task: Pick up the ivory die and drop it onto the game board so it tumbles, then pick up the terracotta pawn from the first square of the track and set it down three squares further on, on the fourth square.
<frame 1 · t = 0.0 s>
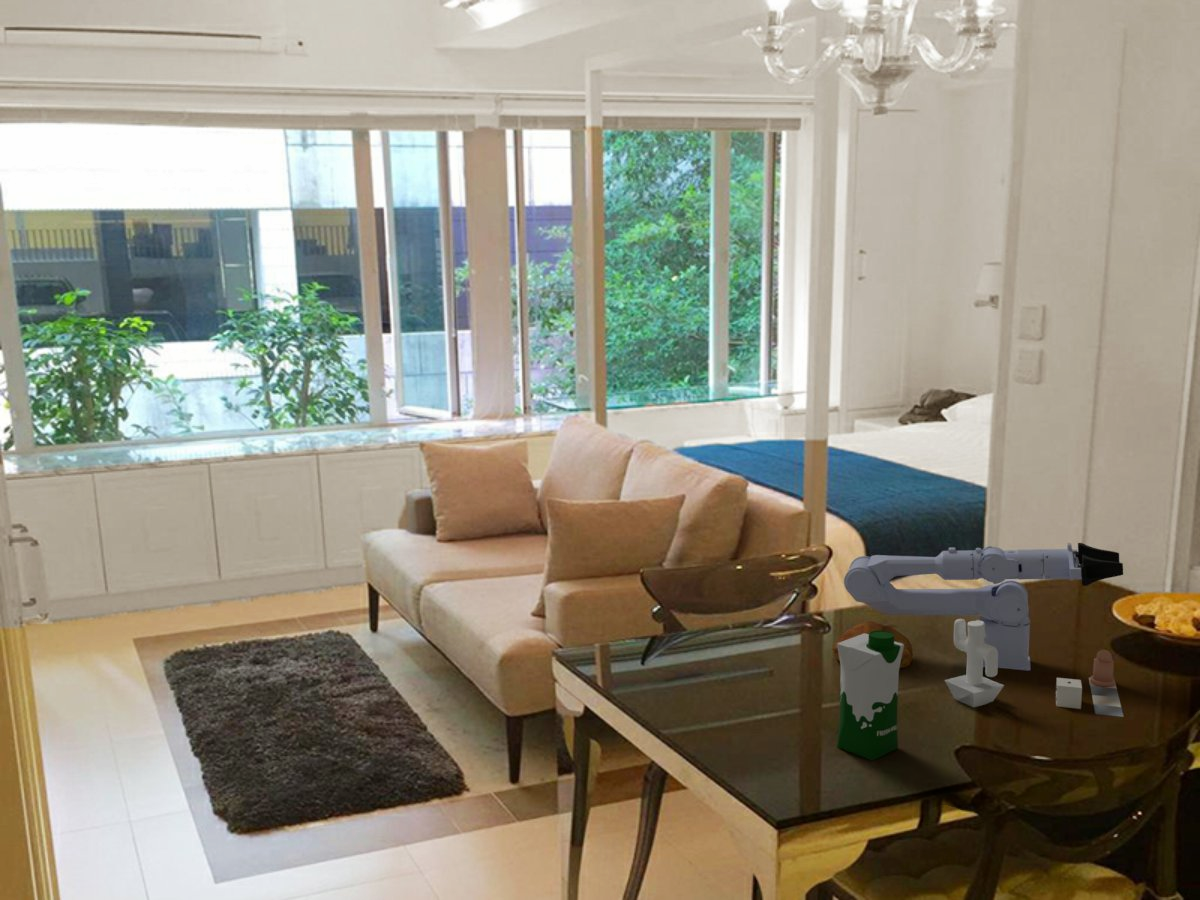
hand: (1121, 563, 220), 22 cm above the table, tool horizontal, fingers open, 7 cm apart
pawn: (1102, 682, 218), resting on board
figurine: (973, 703, 211), on the table
croissant: (870, 661, 233), on the table
board: (1084, 696, 213), on the table
milk carton: (867, 748, 193), on the table
die: (1068, 704, 208), resting on board
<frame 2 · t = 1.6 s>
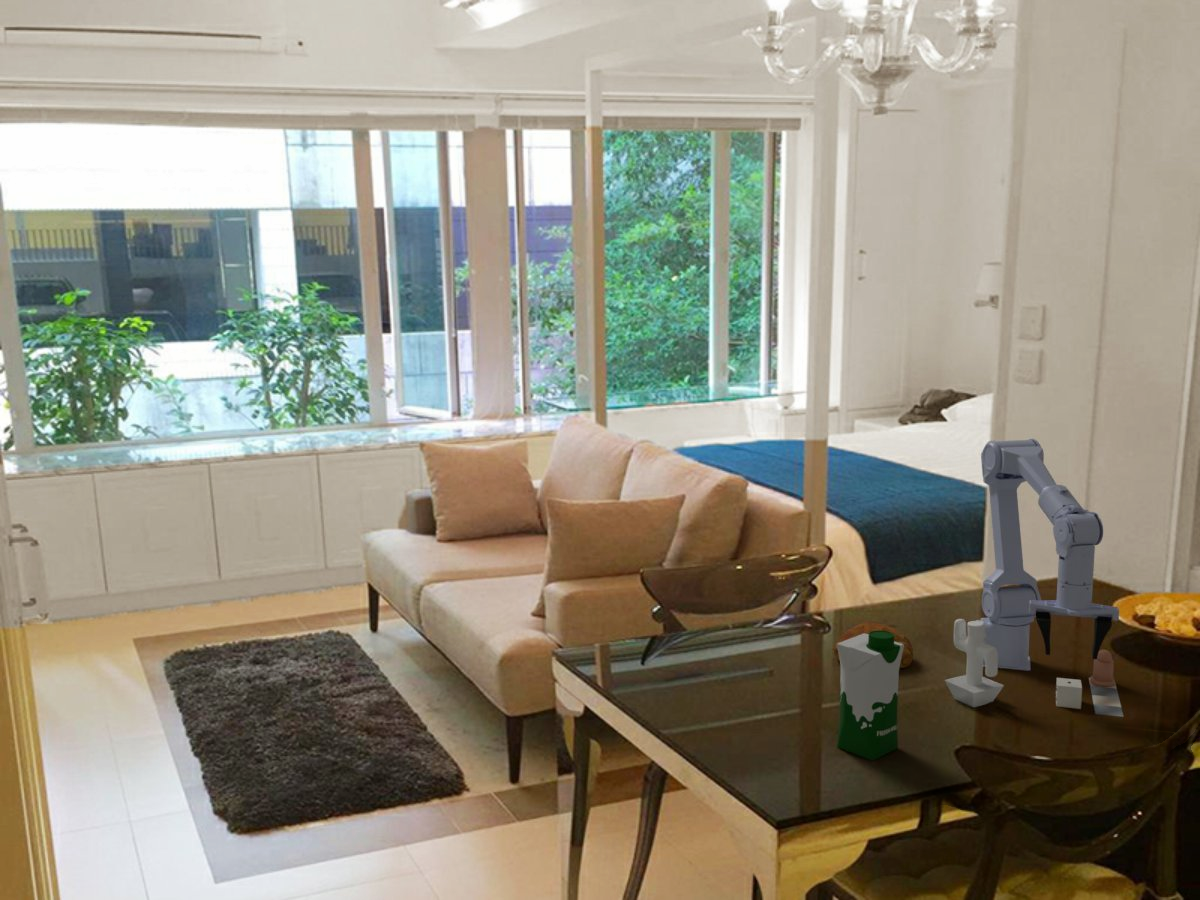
hand: (1070, 655, 207), 9 cm above the table, tool pointing down, fingers open, 7 cm apart
nothing on the table moved.
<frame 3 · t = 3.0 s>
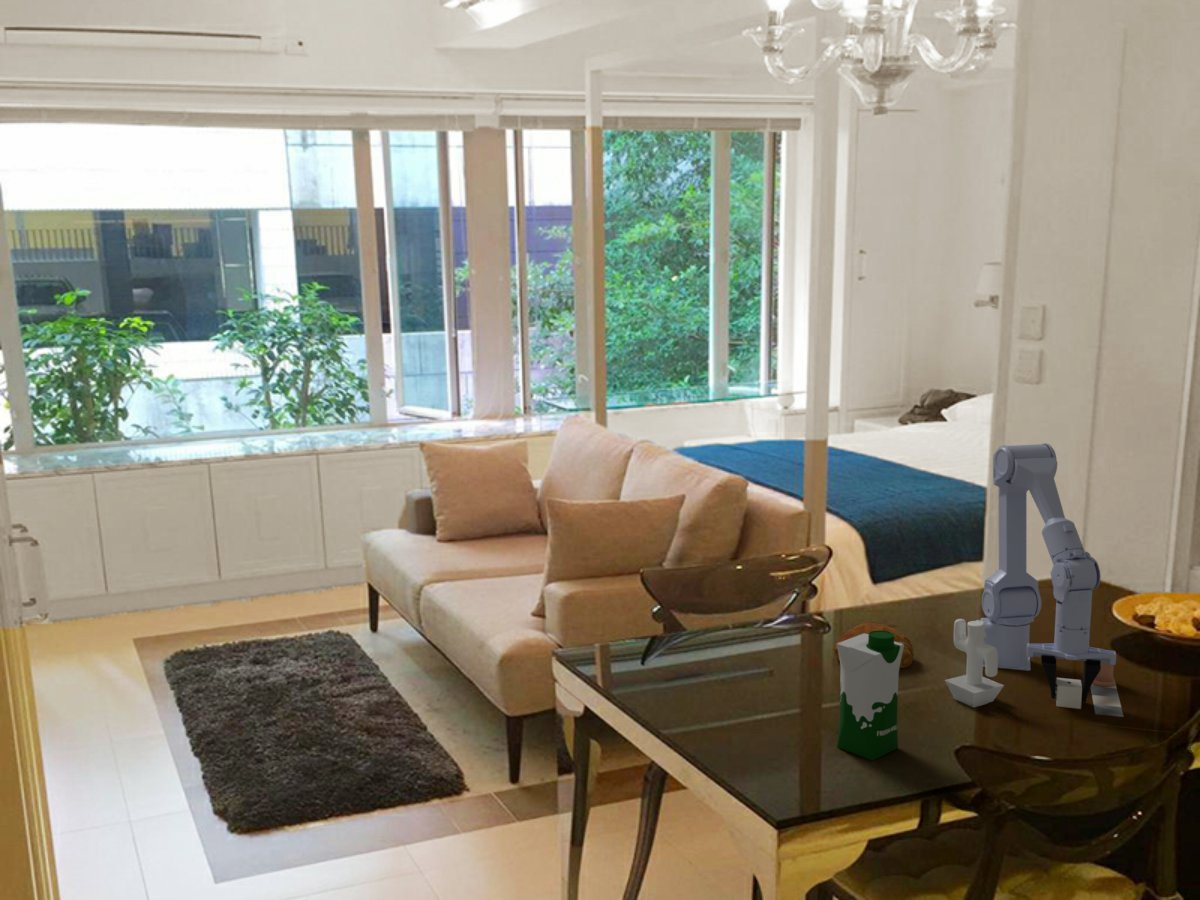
hand: (1068, 698, 208), 1 cm above the table, tool pointing down, fingers closed on die, 4 cm apart
die: (1068, 704, 208), resting on board, touching gripper
everything else where it was.
when the fingers open (8 cm above the table, at t = 4.7 s): die drops 5 cm and tips over, resting on board.
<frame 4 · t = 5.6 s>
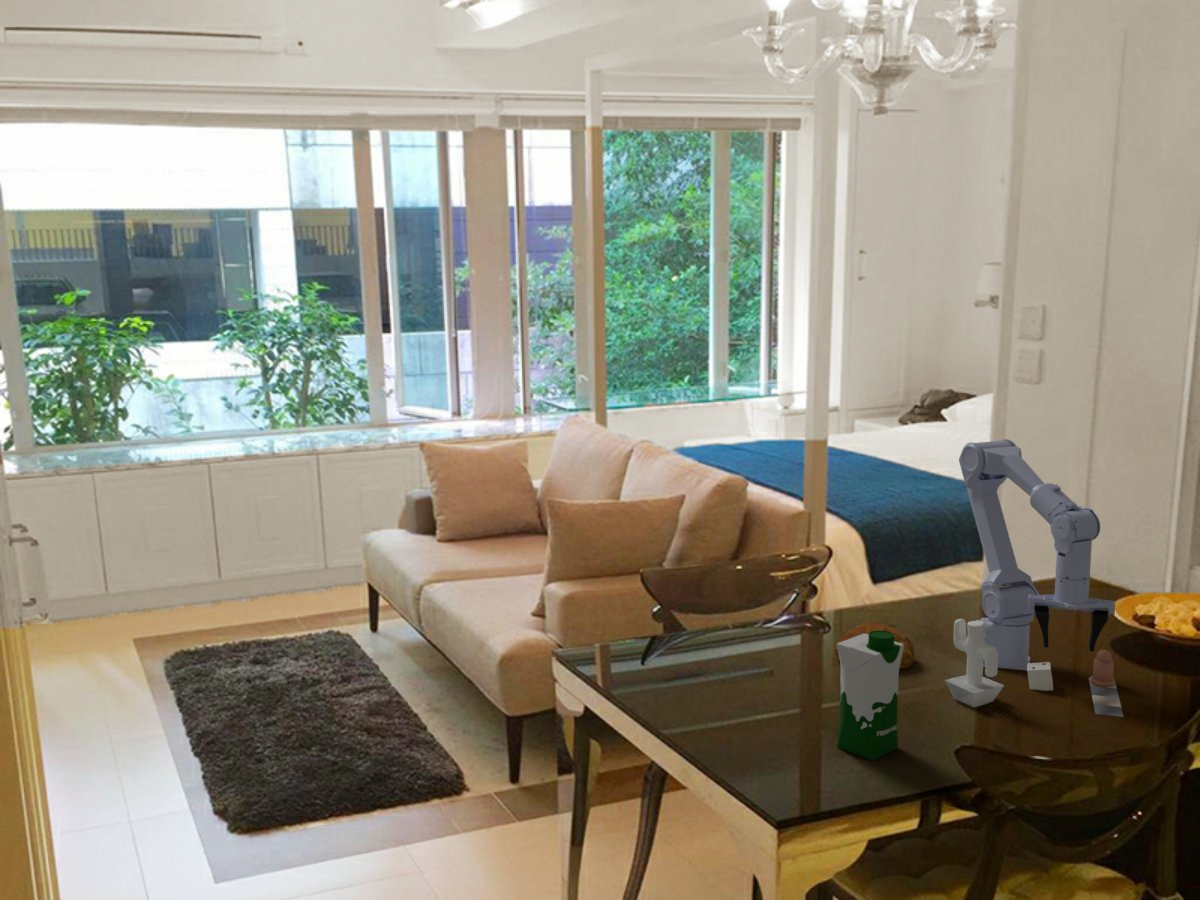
hand: (1068, 647, 214), 8 cm above the table, tool pointing down, fingers open, 7 cm apart
die: (1051, 676, 216), point 3 cm above the table, tilted 100°, touching board
everything else where it was.
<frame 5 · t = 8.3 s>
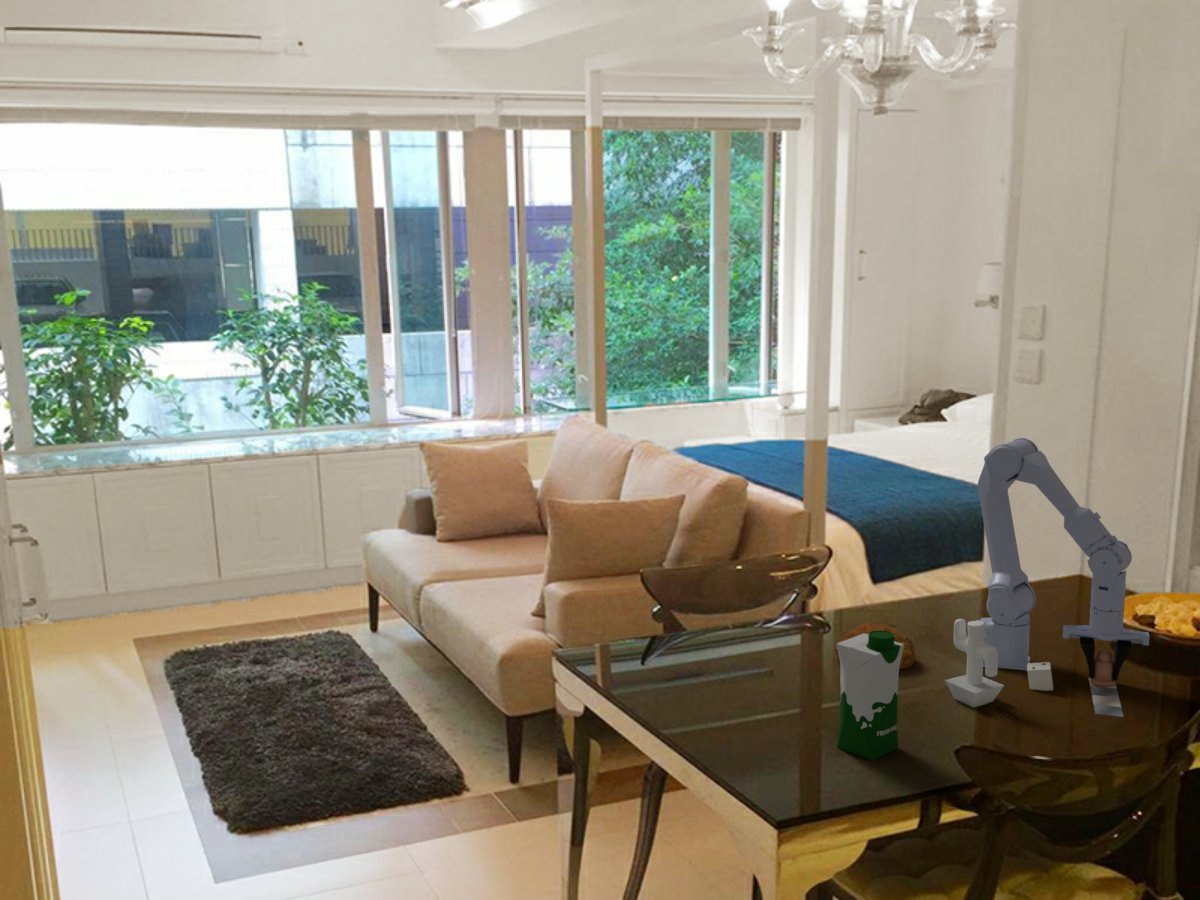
hand: (1102, 677, 217), 2 cm above the table, tool pointing down, fingers closed on pawn, 3 cm apart
pawn: (1102, 682, 218), resting on board, touching gripper
everything else where it was.
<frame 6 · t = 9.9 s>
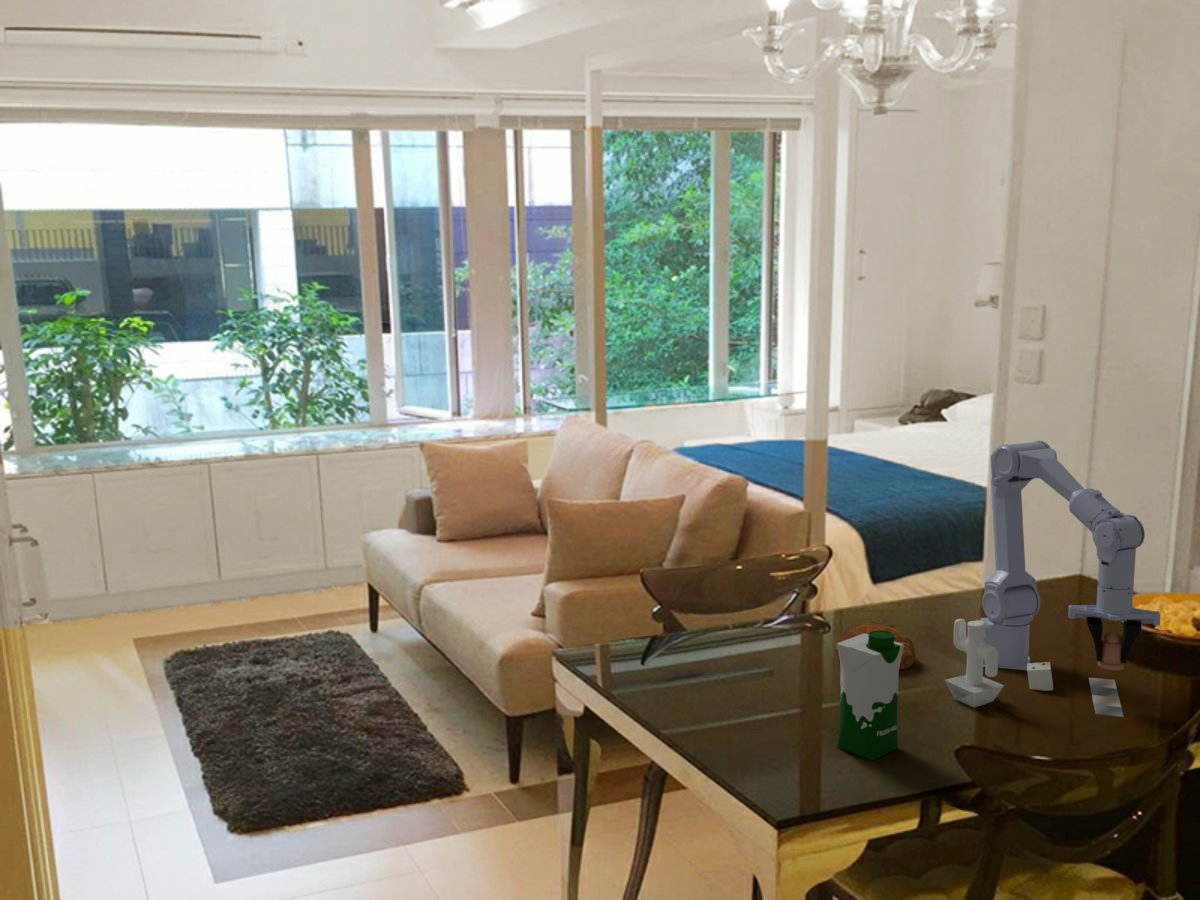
hand: (1110, 660, 205), 9 cm above the table, tool pointing down, fingers closed on pawn, 3 cm apart
pawn: (1110, 666, 206), point 8 cm above the table, touching gripper
everything else where it was.
when the fingers open (3 cm above the table, at t = 11.6 s): pawn drops 1 cm, resting on board.
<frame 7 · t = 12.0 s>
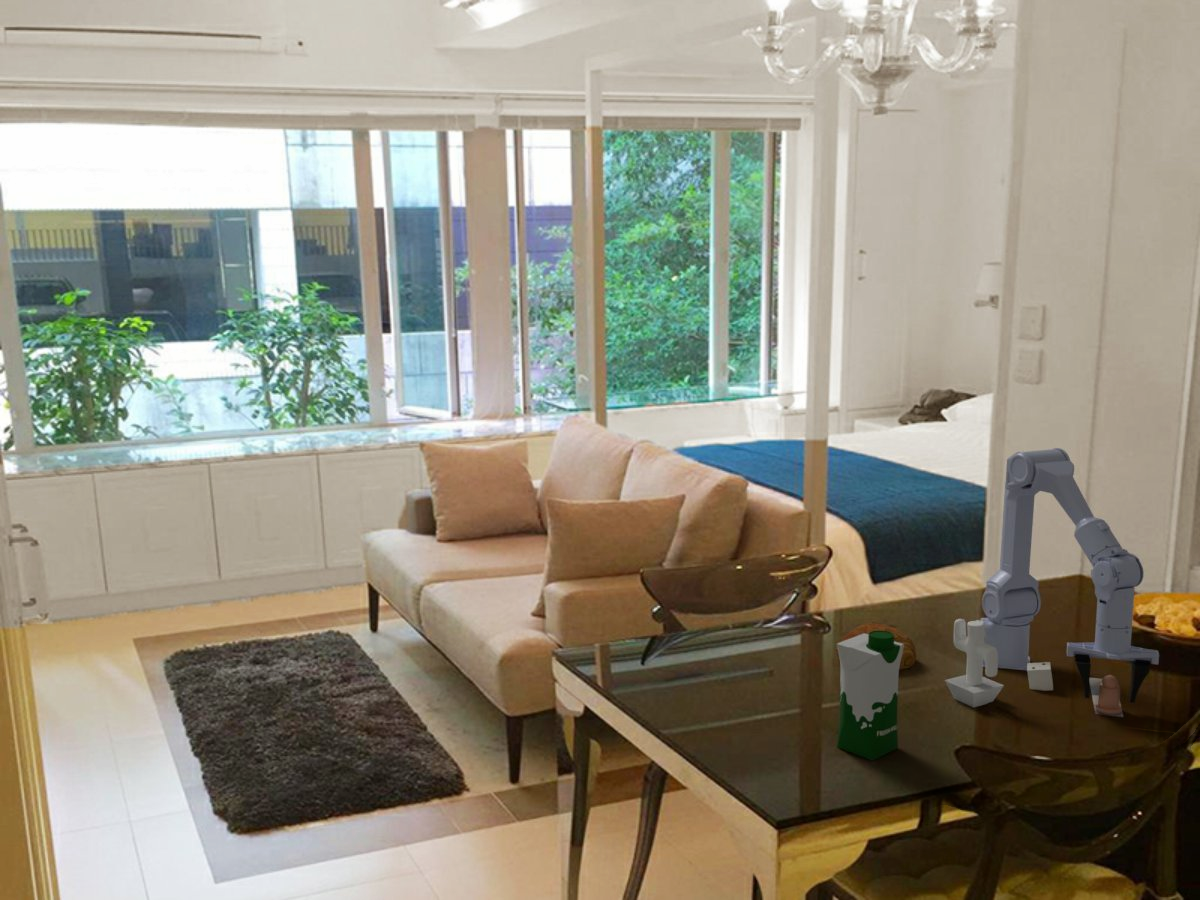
hand: (1109, 698, 205), 3 cm above the table, tool pointing down, fingers open, 7 cm apart
pawn: (1108, 710, 205), resting on board
everything else where it was.
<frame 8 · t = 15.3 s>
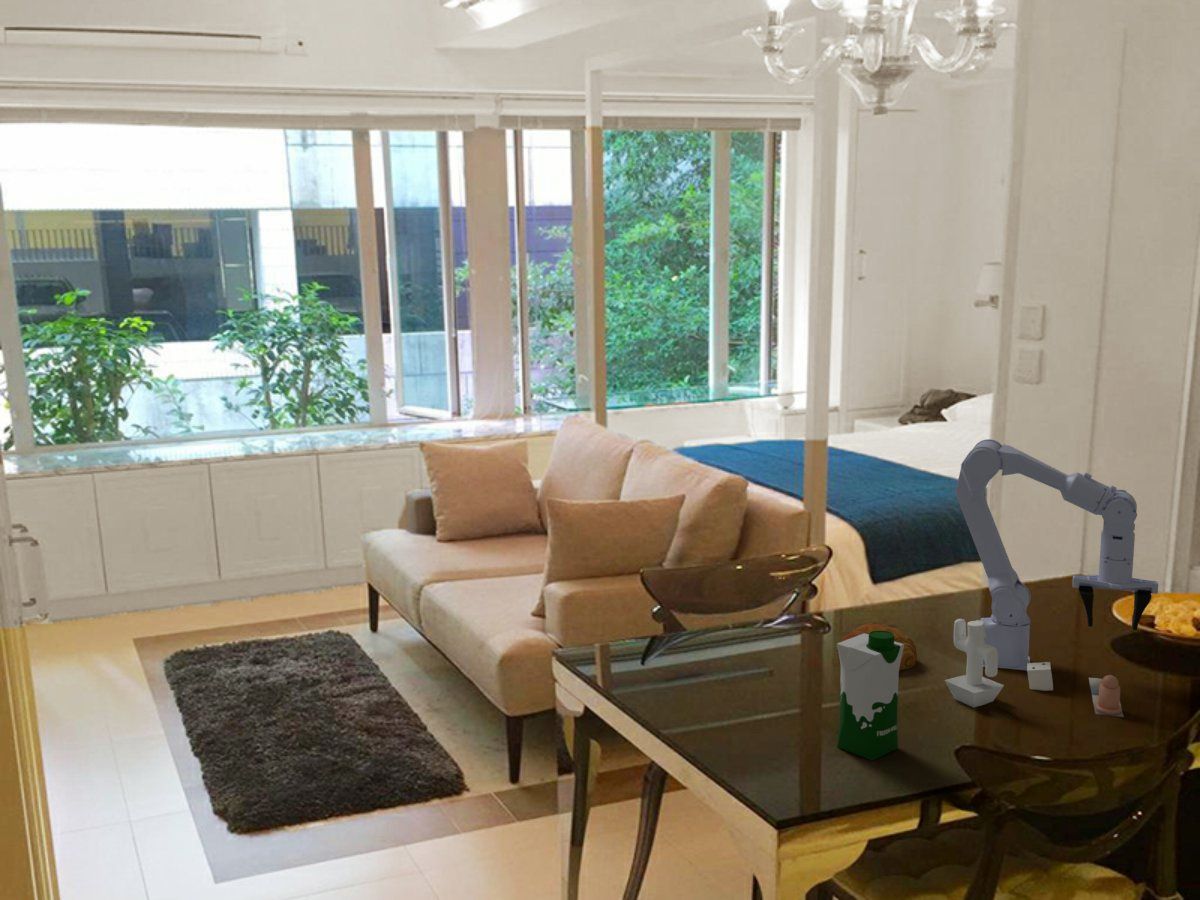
hand: (1112, 626, 220), 10 cm above the table, tool pointing down, fingers open, 7 cm apart
nothing on the table moved.
at the end: pawn 0.0 cm from the target spot, point 0.5 cm above the table; pawn tilted 0°; die moved 7.9 cm from its start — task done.
